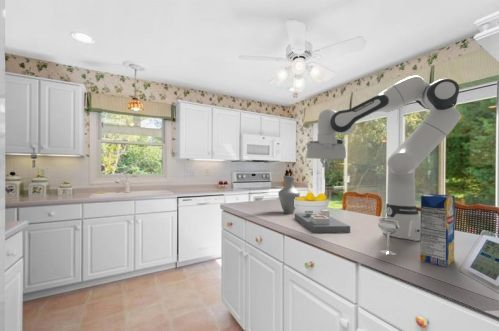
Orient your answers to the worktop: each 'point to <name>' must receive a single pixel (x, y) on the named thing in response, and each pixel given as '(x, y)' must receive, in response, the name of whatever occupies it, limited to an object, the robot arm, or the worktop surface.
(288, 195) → the vase
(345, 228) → the panel
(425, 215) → the beverage box
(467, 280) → the worktop surface
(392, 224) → the wineglass
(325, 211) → the paddle
